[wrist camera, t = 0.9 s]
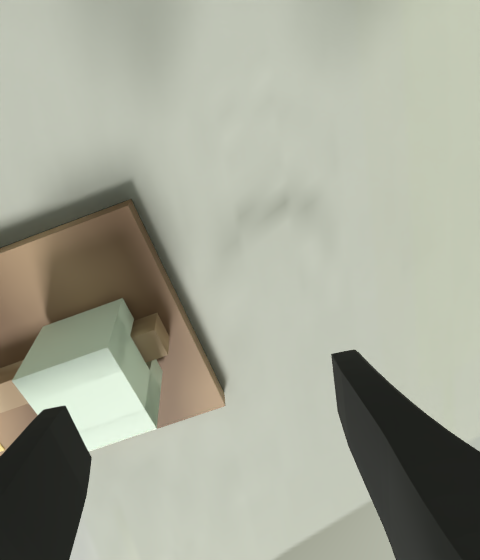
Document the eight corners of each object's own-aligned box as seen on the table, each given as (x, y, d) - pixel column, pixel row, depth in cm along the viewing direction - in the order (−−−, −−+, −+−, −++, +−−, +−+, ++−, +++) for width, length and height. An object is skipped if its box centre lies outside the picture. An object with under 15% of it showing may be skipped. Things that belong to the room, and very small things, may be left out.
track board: (-61, 489, 26) (-107, 567, 22) (-221, 331, 21) (-321, 395, 17) (224, 393, 25) (229, 457, 21) (130, 199, 20) (114, 234, 16)
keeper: (89, 396, 22) (70, 457, 19) (43, 326, 20) (11, 381, 17) (162, 370, 22) (156, 428, 19) (122, 297, 20) (107, 347, 17)
